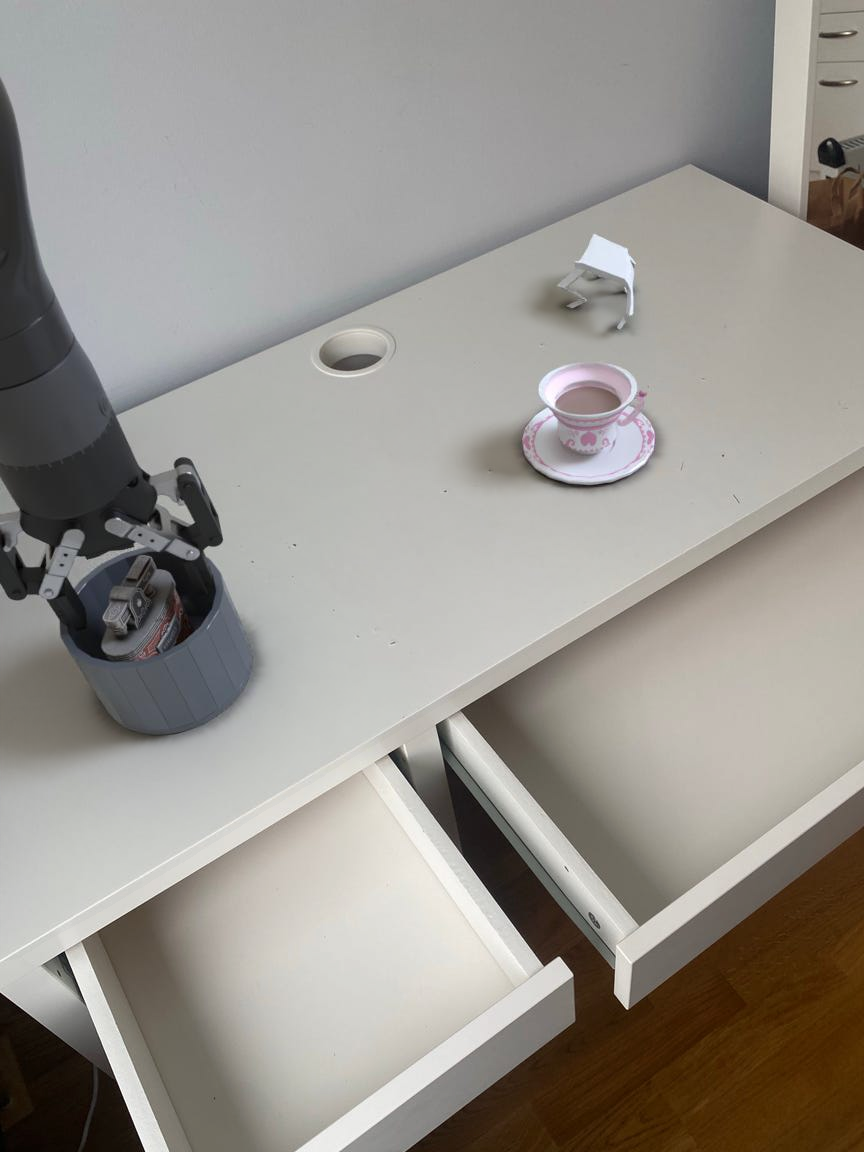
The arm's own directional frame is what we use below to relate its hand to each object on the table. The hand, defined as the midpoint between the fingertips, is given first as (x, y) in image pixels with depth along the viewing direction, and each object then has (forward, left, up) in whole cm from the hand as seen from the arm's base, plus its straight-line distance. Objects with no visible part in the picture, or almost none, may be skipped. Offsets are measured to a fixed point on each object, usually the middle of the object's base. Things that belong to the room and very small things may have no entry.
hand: (141, 604), depth 69 cm
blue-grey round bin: (0, 0, -8) cm, 8 cm away
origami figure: (+49, +33, -8) cm, 60 cm away
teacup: (+39, +13, -8) cm, 42 cm away
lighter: (0, -1, -8) cm, 8 cm away
